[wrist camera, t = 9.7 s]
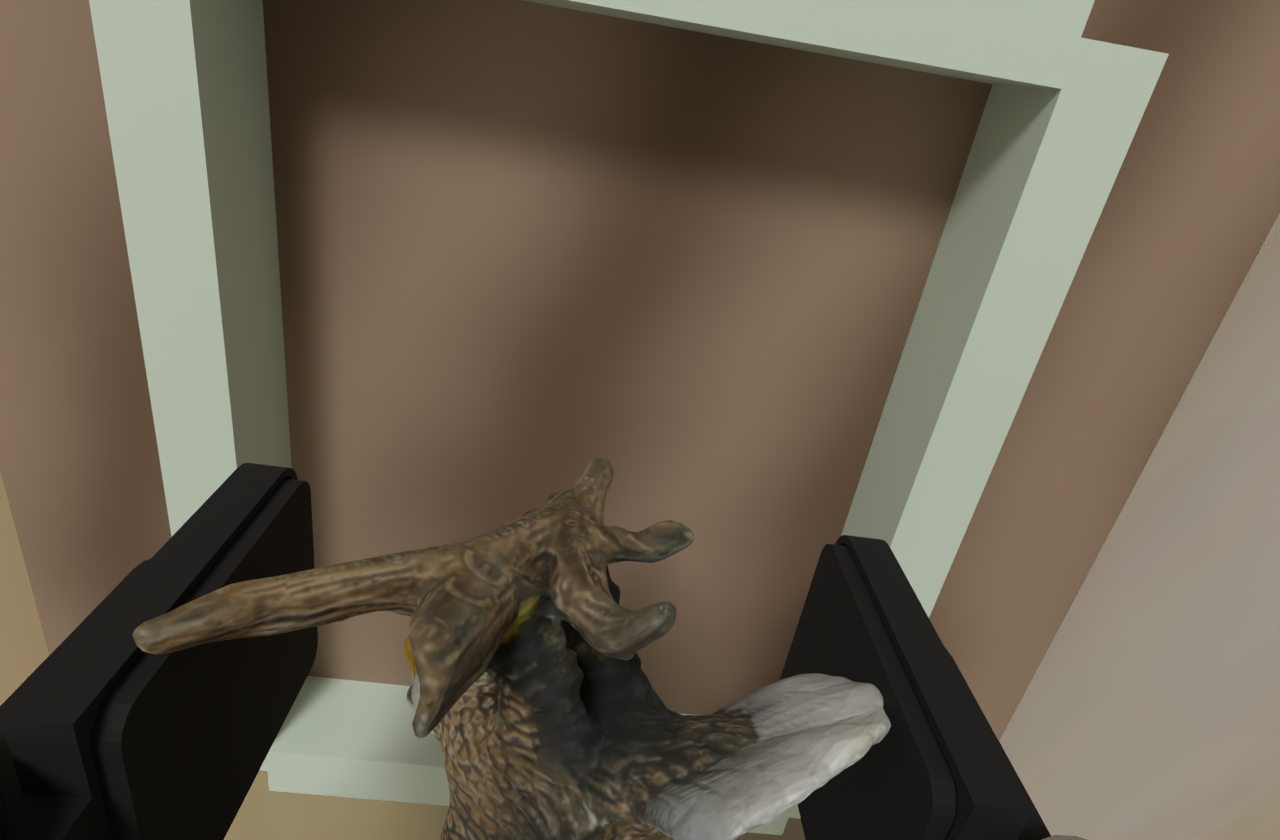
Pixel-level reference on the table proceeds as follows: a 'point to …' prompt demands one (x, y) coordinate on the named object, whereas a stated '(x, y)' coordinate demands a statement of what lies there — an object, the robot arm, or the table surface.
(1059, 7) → the jig board
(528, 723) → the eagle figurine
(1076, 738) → the table surface
